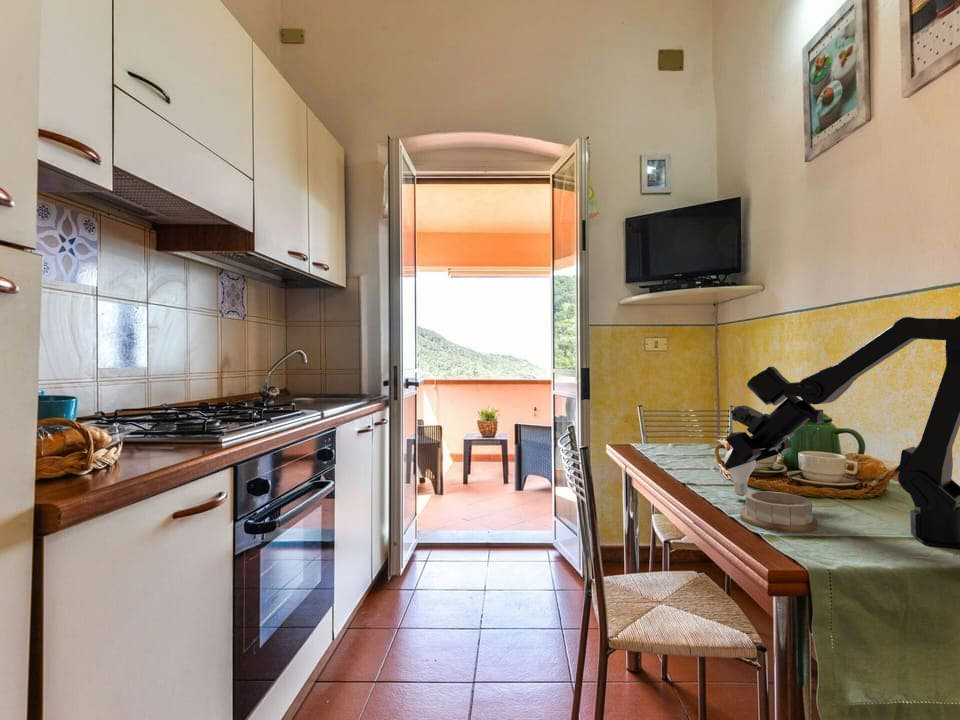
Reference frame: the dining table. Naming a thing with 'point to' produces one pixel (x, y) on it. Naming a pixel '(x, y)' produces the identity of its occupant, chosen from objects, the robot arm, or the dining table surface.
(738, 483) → the lightbulb
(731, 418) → the robot arm
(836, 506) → the dining table surface
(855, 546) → the dining table surface
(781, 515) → the holder
